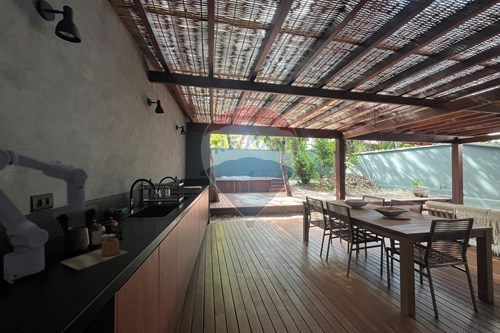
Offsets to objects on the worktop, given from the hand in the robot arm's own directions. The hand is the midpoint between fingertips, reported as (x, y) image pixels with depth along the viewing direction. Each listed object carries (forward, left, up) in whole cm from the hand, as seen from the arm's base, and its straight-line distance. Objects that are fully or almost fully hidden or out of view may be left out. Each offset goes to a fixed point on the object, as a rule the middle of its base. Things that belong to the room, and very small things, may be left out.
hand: (77, 230), depth 89 cm
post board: (+1, -11, -10) cm, 15 cm away
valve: (+14, +5, -11) cm, 18 cm away
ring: (+6, -13, -9) cm, 17 cm away
